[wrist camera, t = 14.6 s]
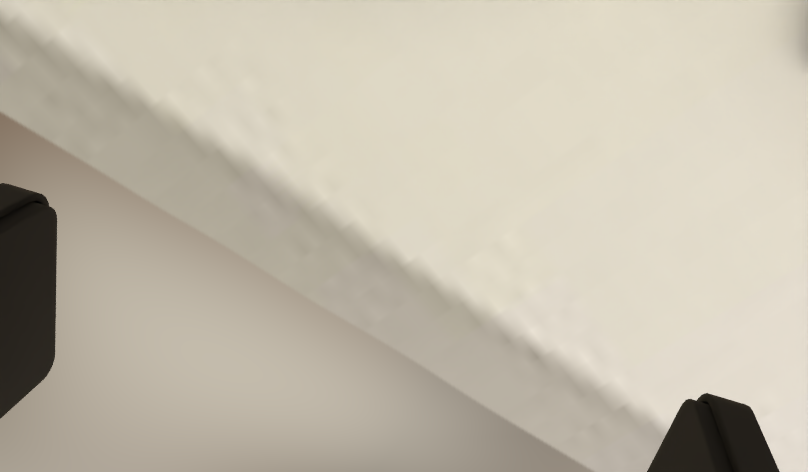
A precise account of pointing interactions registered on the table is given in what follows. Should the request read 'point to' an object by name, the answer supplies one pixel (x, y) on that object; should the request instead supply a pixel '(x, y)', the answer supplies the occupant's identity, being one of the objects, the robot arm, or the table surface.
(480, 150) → the table surface
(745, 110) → the table surface
